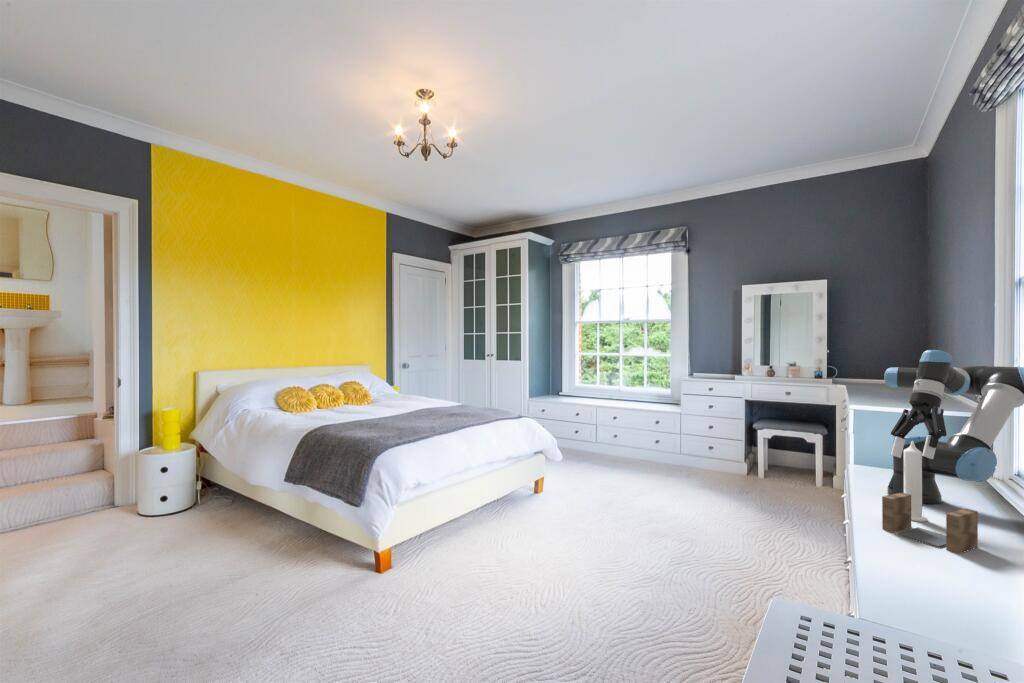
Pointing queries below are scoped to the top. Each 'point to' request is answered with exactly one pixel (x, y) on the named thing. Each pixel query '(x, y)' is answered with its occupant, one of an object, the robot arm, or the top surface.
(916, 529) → the felt pad
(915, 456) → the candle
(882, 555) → the top surface
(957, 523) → the bookend
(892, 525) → the bookend
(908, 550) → the top surface
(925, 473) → the robot arm
